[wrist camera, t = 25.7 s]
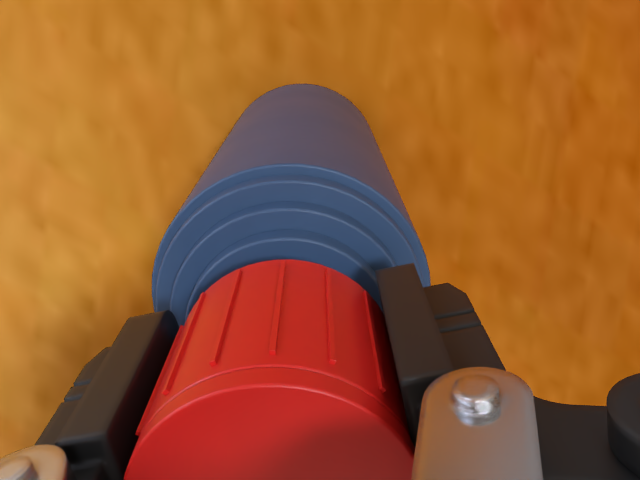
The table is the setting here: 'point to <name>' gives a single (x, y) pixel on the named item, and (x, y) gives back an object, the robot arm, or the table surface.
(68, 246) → the table surface
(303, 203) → the water bottle
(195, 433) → the cap
